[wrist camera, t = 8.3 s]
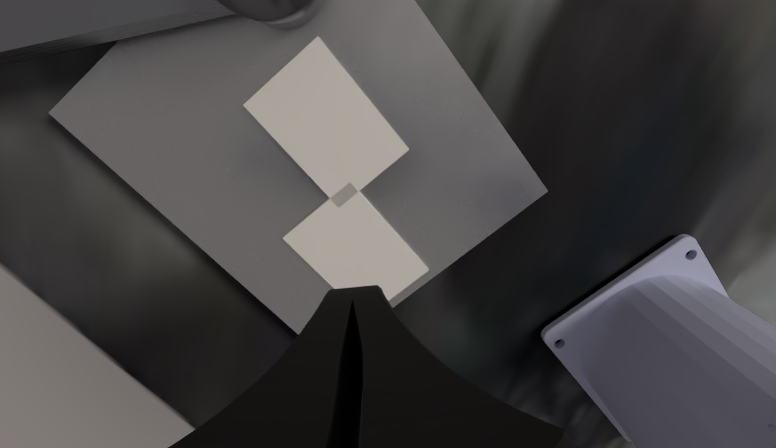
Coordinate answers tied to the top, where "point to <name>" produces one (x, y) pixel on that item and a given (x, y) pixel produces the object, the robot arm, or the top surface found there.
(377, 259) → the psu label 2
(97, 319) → the top surface
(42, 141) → the top surface
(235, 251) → the lid
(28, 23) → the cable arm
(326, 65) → the psu label
